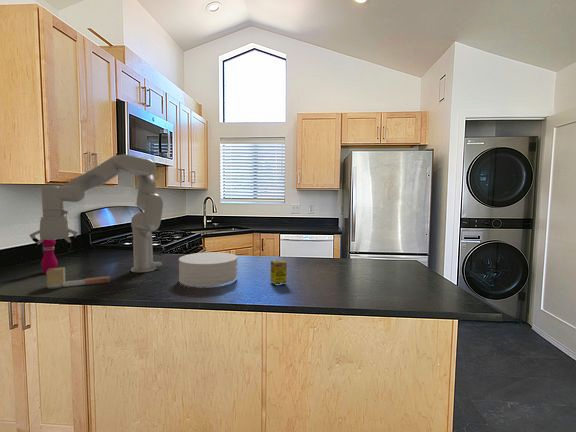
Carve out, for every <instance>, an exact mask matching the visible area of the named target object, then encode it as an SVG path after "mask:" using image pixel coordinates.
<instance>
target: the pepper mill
mask: <svg viewBox="0 0 576 432" xmlns="http://www.w3.org/2000/svg"><path fill="white" fill-rule="evenodd" d="M42 243H43V250H44V252H43V257H42V259H41V262H40V267H41V268H42V270H41V271H42V272H41V273H42V274H44V273H45V275H47V273H46V271H47V270H48V269H49V268H57V266H58V264H59V263H58V259H57V256H56V255H55V245H56V243H57V242H56V239H51V240H44V241H43V242H42Z"/></svg>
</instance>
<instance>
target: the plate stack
mask: <svg viewBox="0 0 576 432" xmlns="http://www.w3.org/2000/svg"><path fill="white" fill-rule="evenodd" d="M178 263H179V264H178V268H179V269H178V273H179V274H178V278H179V280H178V283H179V282H180V283H182V284H185V285H190V286H193V285H195V286H210V285H219V284H224V283H228V282H230V281H233V280H234V279H235V278H236V276H237V277H238V255H236V254H234V253H230V252H219V251H217V252H215V251H211V252H208V251H206V252H197V253H195V252H194V253H190V254H186V255H182V256H180V257H179V258H178ZM180 283H179V284H180Z"/></svg>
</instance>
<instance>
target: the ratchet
mask: <svg viewBox="0 0 576 432" xmlns="http://www.w3.org/2000/svg"><path fill="white" fill-rule="evenodd" d="M105 283H111V276H110V275H106V276H95V277H86V278H84V279H77V280H67V281H66V280H65V282H64V283H61V284H52V285H47V284H46V285H47V286H46V287H47V289H50V290H55V289H61V288H68V287H75V286H84V285H85V286H86V285H95V284H105Z"/></svg>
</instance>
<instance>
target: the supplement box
mask: <svg viewBox="0 0 576 432" xmlns="http://www.w3.org/2000/svg"><path fill="white" fill-rule="evenodd" d="M287 266H288V264H287V261H285V260H270V280H269V281H271V282H273V283H274V284H280V283H286V284H287V268H288V267H287Z"/></svg>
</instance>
